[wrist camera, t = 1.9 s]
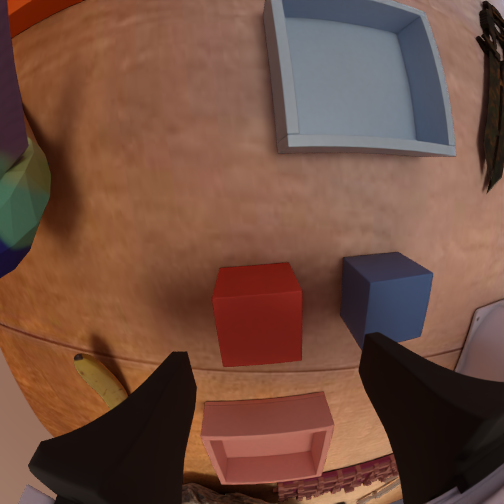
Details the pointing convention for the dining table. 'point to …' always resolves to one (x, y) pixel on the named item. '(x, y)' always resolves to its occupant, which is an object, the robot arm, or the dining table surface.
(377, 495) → the crossbow
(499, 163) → the knife
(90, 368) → the banana
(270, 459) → the pink bin
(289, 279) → the red block
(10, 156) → the decorative sculpture
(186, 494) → the rock
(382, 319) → the blue block
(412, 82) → the blue bin
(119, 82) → the dining table surface
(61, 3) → the tape dispenser
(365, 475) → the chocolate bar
